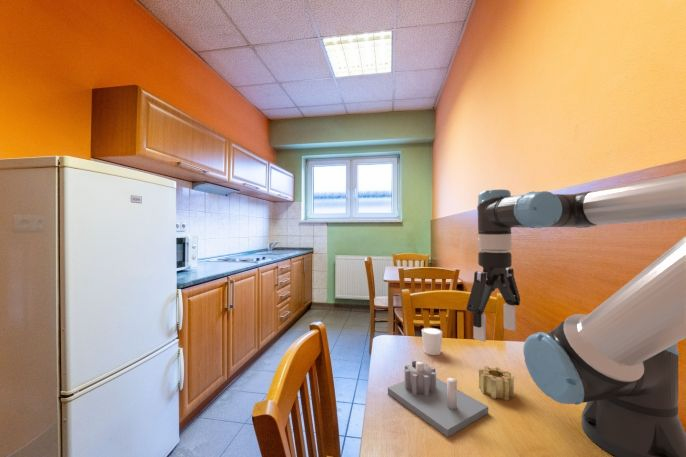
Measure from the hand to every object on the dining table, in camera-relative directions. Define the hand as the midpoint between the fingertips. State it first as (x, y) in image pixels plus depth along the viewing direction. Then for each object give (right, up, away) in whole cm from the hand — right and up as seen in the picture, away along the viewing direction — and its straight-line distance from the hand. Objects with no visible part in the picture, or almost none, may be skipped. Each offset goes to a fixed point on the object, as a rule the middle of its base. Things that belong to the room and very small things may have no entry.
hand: (495, 334), depth 73 cm
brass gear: (0, -15, 0) cm, 15 cm away
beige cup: (-9, -15, +24) cm, 29 cm away
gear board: (-17, -15, -5) cm, 23 cm away
